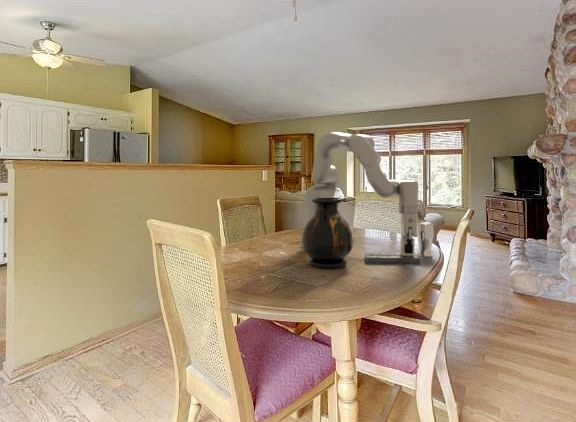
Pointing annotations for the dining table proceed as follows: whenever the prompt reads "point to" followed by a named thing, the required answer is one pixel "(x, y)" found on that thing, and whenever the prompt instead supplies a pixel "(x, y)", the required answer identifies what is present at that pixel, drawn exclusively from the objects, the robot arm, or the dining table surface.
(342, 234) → the dark decorated vase
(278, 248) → the dining table surface
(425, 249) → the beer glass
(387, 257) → the fader console
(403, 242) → the fader knob
